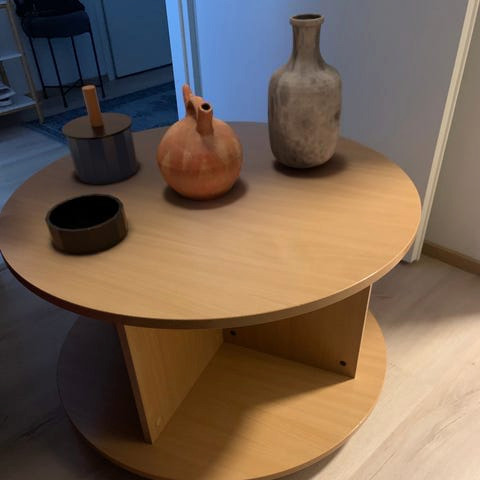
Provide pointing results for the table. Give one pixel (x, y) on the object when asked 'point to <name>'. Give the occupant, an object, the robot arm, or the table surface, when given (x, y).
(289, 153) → the vase
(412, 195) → the table surface
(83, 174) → the pot
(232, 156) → the jug
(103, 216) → the pan
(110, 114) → the lid
